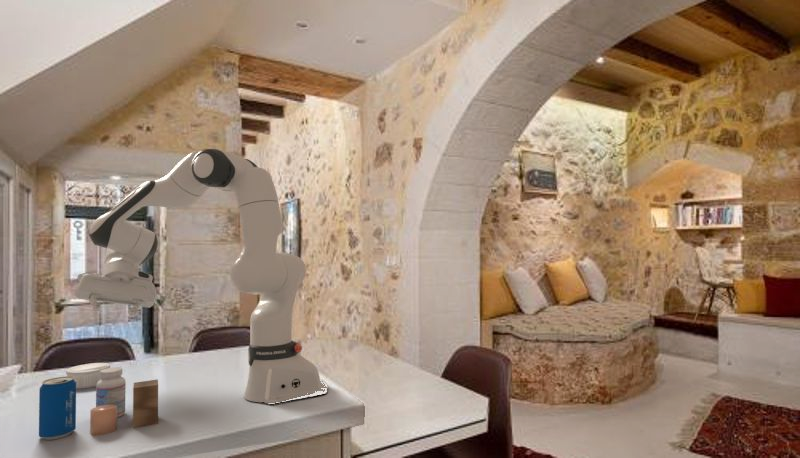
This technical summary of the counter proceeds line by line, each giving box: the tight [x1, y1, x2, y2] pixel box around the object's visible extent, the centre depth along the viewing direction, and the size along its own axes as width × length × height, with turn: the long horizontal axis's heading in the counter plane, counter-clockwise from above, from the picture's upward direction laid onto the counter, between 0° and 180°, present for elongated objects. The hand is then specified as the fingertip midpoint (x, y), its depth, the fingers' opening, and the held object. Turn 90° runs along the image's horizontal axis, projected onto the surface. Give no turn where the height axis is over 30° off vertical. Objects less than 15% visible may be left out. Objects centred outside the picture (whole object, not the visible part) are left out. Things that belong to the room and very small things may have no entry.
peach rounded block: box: [89, 404, 118, 436], centre depth 102 cm, size 5×5×5 cm
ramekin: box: [65, 362, 111, 390], centre depth 138 cm, size 11×11×5 cm
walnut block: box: [132, 378, 159, 429], centre depth 106 cm, size 5×5×9 cm
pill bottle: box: [95, 366, 127, 418], centre depth 111 cm, size 6×6×11 cm
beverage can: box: [38, 375, 77, 441], centre depth 100 cm, size 6×6×12 cm
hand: (115, 311), depth 128 cm, fingers open, 8 cm apart
